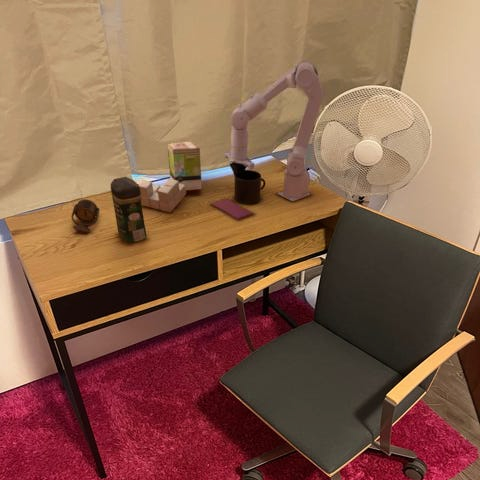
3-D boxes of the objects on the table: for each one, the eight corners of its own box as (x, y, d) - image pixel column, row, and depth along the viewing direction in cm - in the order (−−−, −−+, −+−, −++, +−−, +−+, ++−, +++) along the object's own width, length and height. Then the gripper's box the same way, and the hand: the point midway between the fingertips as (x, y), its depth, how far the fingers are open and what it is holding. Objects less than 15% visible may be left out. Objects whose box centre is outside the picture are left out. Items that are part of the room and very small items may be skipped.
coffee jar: (115, 233, 153) (105, 177, 141) (138, 227, 156) (131, 172, 144) (125, 246, 146) (116, 189, 135) (149, 240, 150) (143, 184, 138)
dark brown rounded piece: (109, 203, 157) (82, 192, 158) (86, 217, 147) (58, 205, 148) (107, 222, 162) (81, 212, 163) (85, 237, 152) (58, 225, 153)
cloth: (226, 199, 173) (226, 197, 173) (253, 214, 165) (253, 212, 164) (211, 205, 170) (211, 203, 169) (238, 220, 161) (238, 218, 161)
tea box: (203, 189, 174) (200, 146, 167) (175, 191, 172) (171, 149, 165) (195, 180, 187) (192, 140, 179) (170, 182, 185) (165, 142, 177)
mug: (270, 200, 173) (272, 176, 167) (241, 206, 169) (242, 182, 163) (258, 190, 180) (259, 167, 174) (229, 196, 175) (230, 172, 170)
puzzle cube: (186, 194, 172) (184, 174, 166) (170, 212, 165) (167, 193, 159) (157, 186, 175) (154, 167, 169) (140, 204, 168) (136, 185, 162)
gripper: (217, 141, 169) (217, 178, 178) (243, 153, 161) (242, 191, 169) (232, 137, 173) (232, 174, 182) (259, 149, 164) (257, 186, 173)
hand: (238, 182), depth 176 cm, fingers closed
